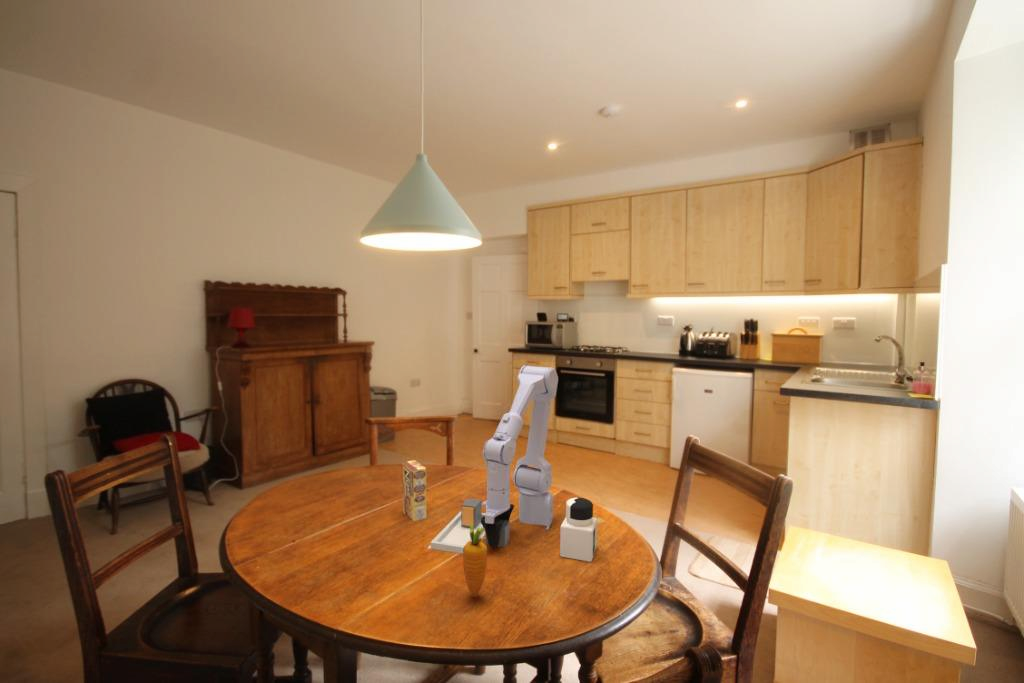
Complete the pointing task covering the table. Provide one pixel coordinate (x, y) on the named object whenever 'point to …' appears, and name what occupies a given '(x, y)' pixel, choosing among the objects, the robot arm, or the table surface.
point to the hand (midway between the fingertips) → (497, 539)
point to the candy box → (414, 490)
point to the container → (578, 530)
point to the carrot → (475, 561)
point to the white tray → (454, 536)
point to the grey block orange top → (502, 535)
